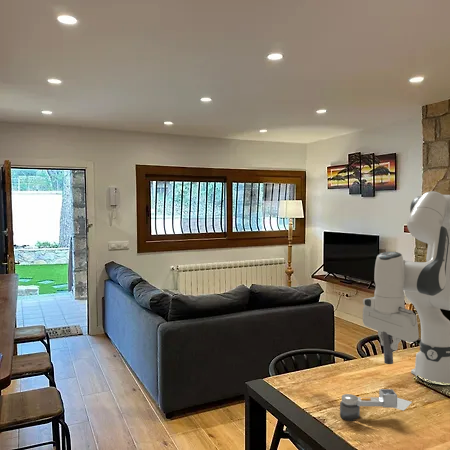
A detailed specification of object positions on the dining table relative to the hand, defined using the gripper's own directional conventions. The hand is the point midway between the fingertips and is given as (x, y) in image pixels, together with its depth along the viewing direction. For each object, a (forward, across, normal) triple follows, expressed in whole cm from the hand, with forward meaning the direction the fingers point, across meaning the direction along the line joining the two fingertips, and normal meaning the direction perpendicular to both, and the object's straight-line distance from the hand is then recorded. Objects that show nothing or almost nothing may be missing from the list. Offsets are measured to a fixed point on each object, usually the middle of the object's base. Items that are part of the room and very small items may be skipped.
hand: (389, 347), depth 130 cm
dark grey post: (+5, 0, 0) cm, 5 cm away
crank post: (+23, +6, +10) cm, 26 cm away
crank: (+19, +3, +5) cm, 20 cm away
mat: (+23, +6, -9) cm, 25 cm away
